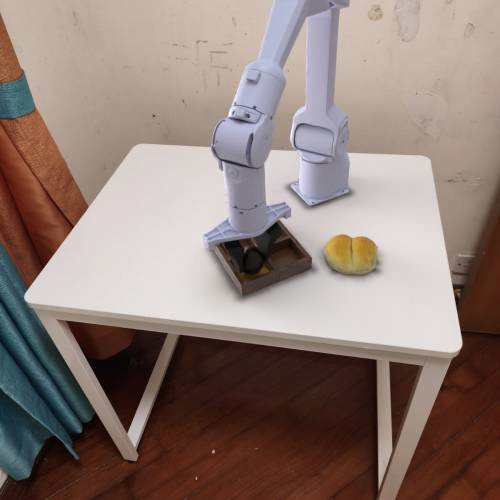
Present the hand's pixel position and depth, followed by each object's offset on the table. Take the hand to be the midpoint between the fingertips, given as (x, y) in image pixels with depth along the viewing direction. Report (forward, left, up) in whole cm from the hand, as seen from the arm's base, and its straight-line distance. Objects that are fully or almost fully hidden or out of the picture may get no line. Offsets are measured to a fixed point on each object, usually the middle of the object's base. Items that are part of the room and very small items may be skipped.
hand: (251, 263), depth 74 cm
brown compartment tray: (-3, -3, -3) cm, 5 cm away
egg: (0, 0, -2) cm, 2 cm away
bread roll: (-17, +5, -3) cm, 18 cm away
